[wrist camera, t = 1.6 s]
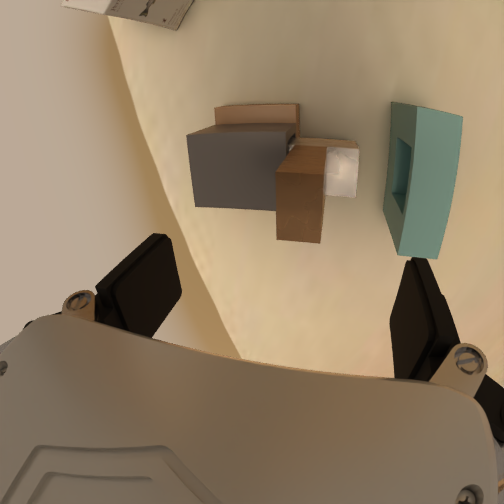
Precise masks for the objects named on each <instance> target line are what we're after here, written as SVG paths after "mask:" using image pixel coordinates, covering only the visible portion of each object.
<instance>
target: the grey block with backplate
mask: <svg viewBox="0 0 504 504" xmlns="http://www.w3.org/2000/svg"><path fill="white" fill-rule="evenodd" d="M214 109H215V122H216V125H214V126H211V127H208V128H205V129H202V130H199V131H196V132H193V133H191V134H188V135H186V136H187V145H188V154H189V162H190V171H191V179H192V186H193V194H194V201H195V207H213V208H234V209H253V210H269V211H276V177H275V172H276V170H277V169H278V168H279V166H280V165H281V163H282V162H283V161H284V159H285V158H286V156H287V155H288V142H287V141H288V140H289V139H290V138H291V137H299V138H300V130H299V104H250V105H231V106H221V107H216V108H214Z"/></svg>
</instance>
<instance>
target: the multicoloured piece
mask: <svg viewBox="0 0 504 504" xmlns="http://www.w3.org/2000/svg"><path fill="white" fill-rule="evenodd" d="M287 142H288V155H287V156H286V158H285V159H284V161H283V162H282V163H281V165H280V166H279V168H278V169H277V170H276V172H275V177H276V229H277V240H287V241H299V242H310V243H320V241H321V232H322V224H323V214H324V205H325V195H330V196H342V197H353V198H356V191H357V178H358V163H359V148H358V145H357V143H356V141H348V140H336V139H321V138H299V137H291V138H290V139H289V140H288V141H287Z"/></svg>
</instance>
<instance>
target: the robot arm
mask: <svg viewBox="0 0 504 504" xmlns="http://www.w3.org/2000/svg"><path fill="white" fill-rule="evenodd" d="M95 288H96V290H97V294H96V295H94V293H93V292H92V291H89V290H82V291H78V292H75V293H73V294H72V295H70V296H69V297H68V298H67V299H66V300H65V301H64V304H63V307H62V311H61V312H58V313H55V314H52V315H47V316H42V317H39V318H37V319H36V320H34V321H30V322H28V323H27V324H26V325H25V327H24V328H23V330H22V331H21V332H20V333H19V334H18V335H17V336H16V337H14V338H12V339H11V340H9V341H7V342H5V343H4V344H2V345H1V346H0V504H504V388H503V387H502V386H500V385H499V384H498V383H497V382H495V381H494V380H493V379H491V378H490V377H489V376H488V375H486V372H487V368H488V363H487V359H486V356H485V355H484V353H483V352H482V351H481V350H480V349H479V348H478V347H476V346H474V345H472V344H468V343H460V339H459V336H458V333H457V330H456V327H455V324H454V321H453V318H452V315H451V312H450V310H449V307H448V304H447V301H446V299H445V297H444V295H442V294H441V292H440V289H439V287H438V284H437V282H436V279H435V277H434V274H433V272H432V269H431V267H430V265H429V262H428V260H427V259H426V258H418V257H412V258H411V261H409V260H407V261H406V264H405V268H404V271H403V275H402V279H401V283H400V286H399V290H398V293H397V296H396V300H395V303H394V306H393V310H392V313H391V316H390V332H391V341H392V351H393V362H394V376H395V378H385V377H373V376H360V375H350V374H341V373H331V372H322V371H314V370H306V369H299V368H292V367H285V366H279V365H273V364H267V363H261V362H255V361H250V360H244V359H239V358H234V357H229V356H224V355H219V354H214V353H210V352H206V351H201V350H197V349H193V348H188V347H184V346H180V345H176V344H172V343H168V342H164V341H161V340H157V339H153V338H152V337H153V335H154V334H155V332H156V331H157V329H158V328H159V327H160V325H161V324H162V322H163V321H164V320H165V318H166V317H167V315H168V314H169V312H170V311H171V310H172V308H173V307H174V306H175V304H176V302H177V301H178V300H179V299H180V297H181V294H182V289H181V284H180V280H179V275H178V271H177V266H176V261H175V256H174V252H173V246H172V242H171V239H170V238H168V236H167V235H166V234H157V233H153V234H152V235H151V236H149V237H148V238H147V239H146V240H145V241H144V242H142V243H141V244H140V245H139V246H138V247H137V248H136V249H135V250H133V251H132V252H131V253H130V254H129V255H128V256H127V257H126V258H125V259H123V260H122V261H121V262H120V263H119V264H118V265H117V266H116V267H115V268H114V269H113V270H112V271H111V272H109V274H107V275H106V276H105V277H104V278H103V279H102V280H101V281H100V282H99V283H98V284H97V285H96V286H95Z"/></svg>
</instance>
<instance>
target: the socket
mask: <svg viewBox="0 0 504 504" xmlns="http://www.w3.org/2000/svg"><path fill="white" fill-rule="evenodd" d="M462 122H463V117H462V116H459V115H455V114H451V113H447V112H443V111H438V110H434V109H429V108H425V107H419V106H414V105H408V104H402V103H396V102H391V130H390V147H389V160H388V171H387V180H386V189H385V197H384V205H383V212H384V215H385V218H386V221H387V224H388V226H389V230H390V233H391V236H392V239H393V242H394V245H395V248H396V252H397V255H400V256H410V257H420V258H429V259H437V258H438V255H439V251H440V248H441V244H442V241H443V237H444V233H445V229H446V225H447V221H448V216H449V212H450V207H451V202H452V197H453V192H454V187H455V181H456V175H457V168H458V161H459V154H460V145H461V135H462Z"/></svg>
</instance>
